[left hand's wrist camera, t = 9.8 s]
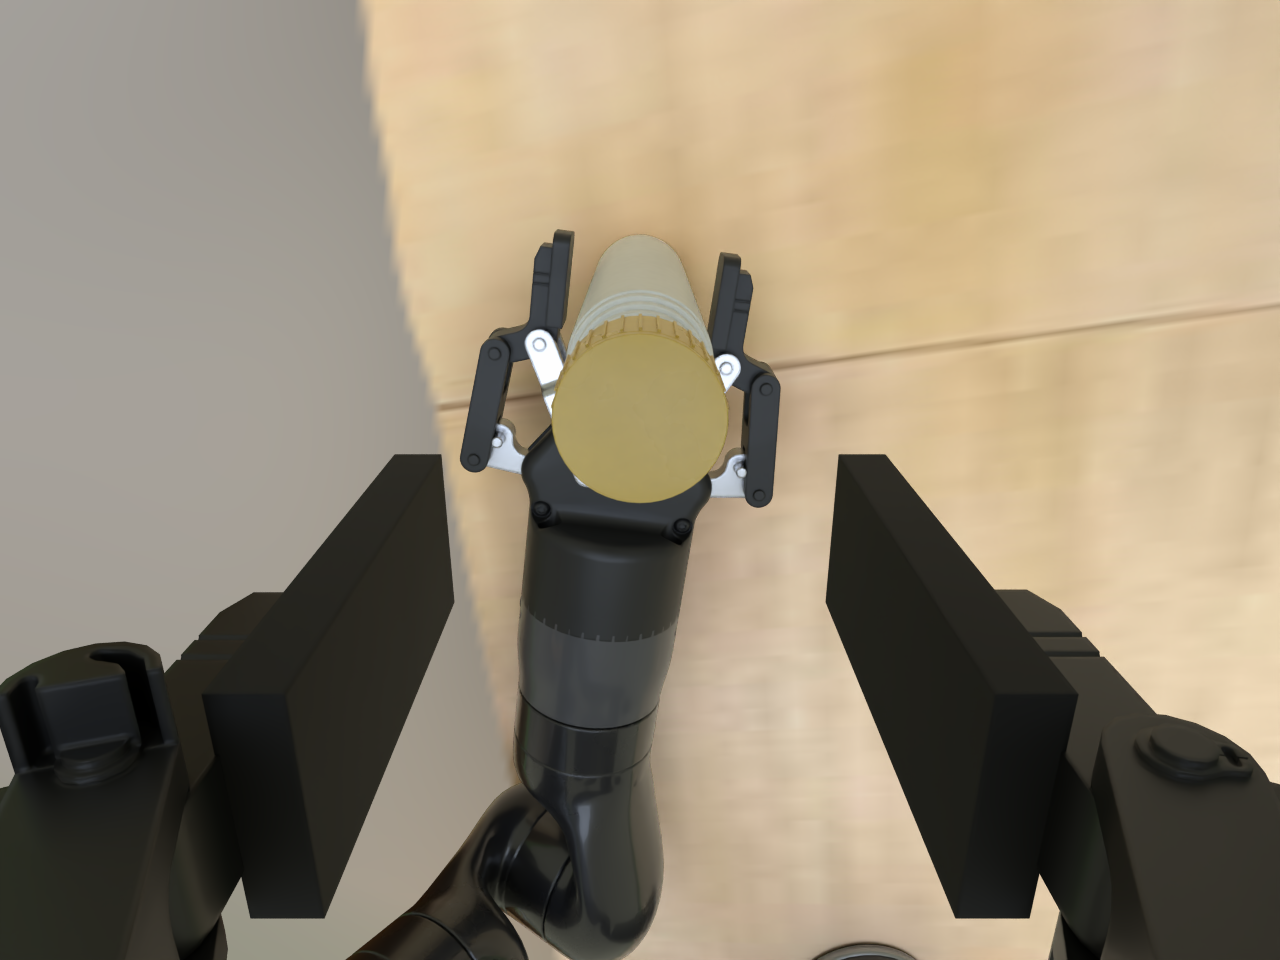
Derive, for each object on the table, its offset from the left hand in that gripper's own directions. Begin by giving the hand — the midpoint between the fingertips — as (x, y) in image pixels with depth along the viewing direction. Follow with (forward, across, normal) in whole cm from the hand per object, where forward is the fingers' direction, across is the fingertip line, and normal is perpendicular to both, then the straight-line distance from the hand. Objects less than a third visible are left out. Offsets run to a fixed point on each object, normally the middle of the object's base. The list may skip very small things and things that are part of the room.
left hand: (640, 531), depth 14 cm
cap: (+6, 0, 0) cm, 6 cm away
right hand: (+23, 0, -2) cm, 23 cm away
